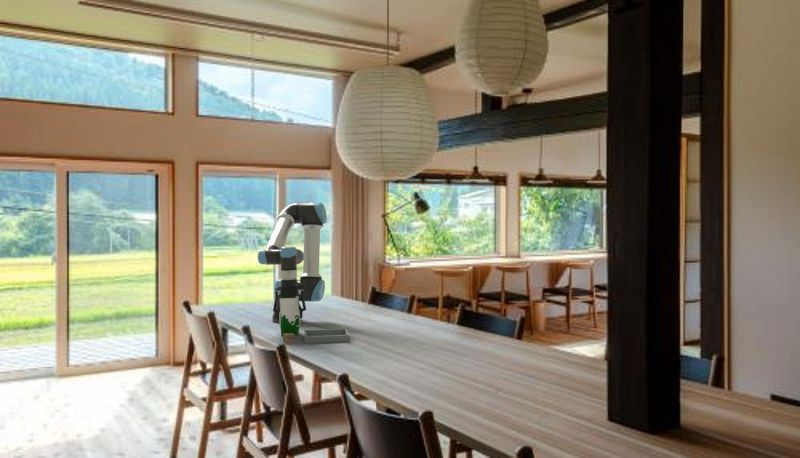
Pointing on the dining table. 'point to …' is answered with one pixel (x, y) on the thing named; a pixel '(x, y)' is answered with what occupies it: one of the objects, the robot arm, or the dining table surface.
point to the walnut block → (289, 338)
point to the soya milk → (289, 315)
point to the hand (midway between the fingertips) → (289, 325)
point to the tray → (326, 336)
